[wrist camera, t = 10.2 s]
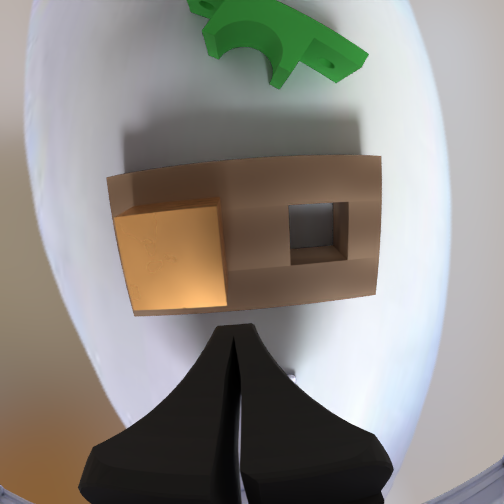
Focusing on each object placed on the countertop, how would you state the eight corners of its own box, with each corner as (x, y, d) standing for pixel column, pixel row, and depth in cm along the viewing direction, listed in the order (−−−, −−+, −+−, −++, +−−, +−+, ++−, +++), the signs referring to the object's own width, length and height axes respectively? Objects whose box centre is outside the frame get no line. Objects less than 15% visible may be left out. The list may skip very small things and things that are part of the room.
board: (359, 277, 21) (375, 294, 19) (145, 295, 21) (134, 316, 18) (361, 154, 18) (381, 155, 16) (124, 173, 18) (106, 177, 15)
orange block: (229, 264, 20) (227, 305, 15) (158, 269, 20) (133, 310, 15) (222, 190, 19) (216, 206, 13) (147, 198, 18) (114, 217, 13)
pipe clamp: (171, 41, 16) (154, 14, 11) (199, 2, 15) (191, -31, 10) (318, 113, 18) (341, 102, 13) (343, 72, 17) (370, 53, 12)
